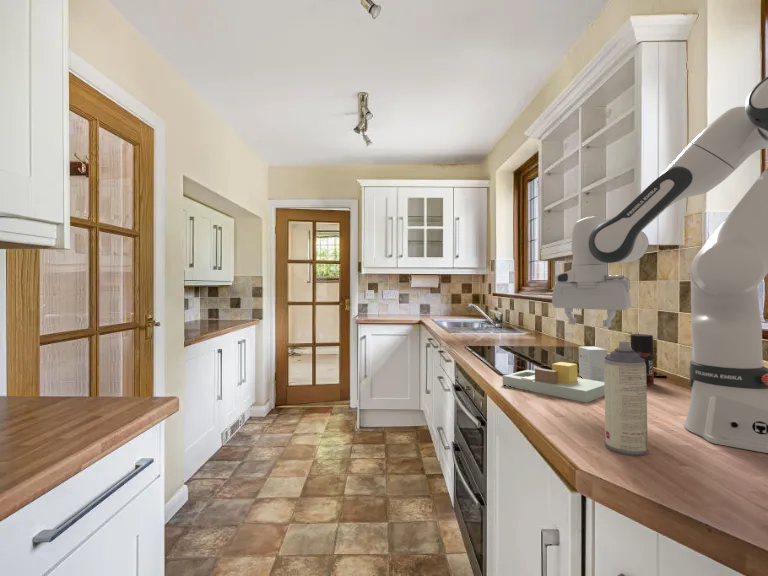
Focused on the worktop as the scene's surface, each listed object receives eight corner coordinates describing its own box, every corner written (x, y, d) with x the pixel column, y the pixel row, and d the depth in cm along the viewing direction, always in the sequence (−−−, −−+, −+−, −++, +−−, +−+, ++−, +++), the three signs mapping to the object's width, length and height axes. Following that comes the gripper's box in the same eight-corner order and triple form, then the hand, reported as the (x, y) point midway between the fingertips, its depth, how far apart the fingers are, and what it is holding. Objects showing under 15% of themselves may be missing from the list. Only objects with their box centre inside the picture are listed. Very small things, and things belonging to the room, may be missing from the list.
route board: (609, 393, 115) (609, 370, 115) (586, 402, 106) (586, 377, 106) (527, 378, 135) (527, 359, 135) (502, 385, 127) (502, 364, 127)
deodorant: (635, 379, 131) (634, 333, 131) (656, 382, 127) (655, 335, 127) (628, 382, 127) (627, 335, 128) (649, 385, 123) (648, 336, 123)
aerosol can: (634, 441, 79) (632, 339, 79) (656, 456, 72) (654, 344, 72) (598, 441, 79) (597, 339, 80) (616, 455, 73) (614, 344, 73)
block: (577, 381, 118) (577, 364, 118) (568, 383, 114) (568, 366, 115) (561, 378, 122) (560, 361, 122) (552, 381, 118) (552, 363, 118)
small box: (608, 382, 128) (607, 349, 128) (590, 382, 128) (589, 349, 128) (595, 377, 136) (594, 346, 136) (578, 377, 136) (578, 346, 136)
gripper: (634, 275, 106) (635, 327, 106) (560, 276, 122) (560, 322, 122) (624, 274, 102) (625, 329, 102) (549, 276, 118) (549, 323, 118)
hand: (589, 325), depth 112 cm, fingers open, 8 cm apart
